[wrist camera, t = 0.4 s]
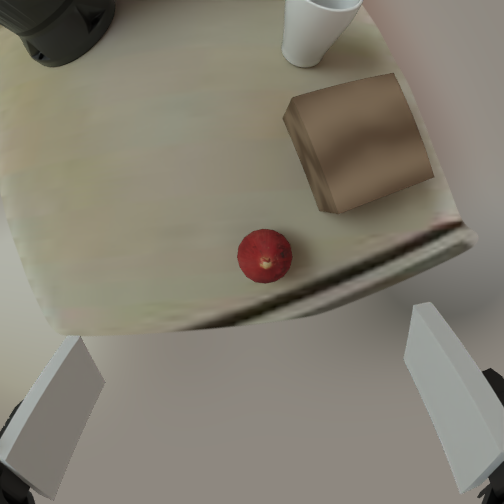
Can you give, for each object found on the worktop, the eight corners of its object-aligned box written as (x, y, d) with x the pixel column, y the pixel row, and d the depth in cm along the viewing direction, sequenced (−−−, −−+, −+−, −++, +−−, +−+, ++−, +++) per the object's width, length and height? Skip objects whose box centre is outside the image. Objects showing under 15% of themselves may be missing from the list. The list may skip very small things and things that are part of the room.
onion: (281, 221, 36) (291, 227, 29) (291, 267, 37) (303, 285, 30) (233, 232, 37) (230, 241, 29) (244, 279, 38) (244, 299, 30)
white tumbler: (284, 25, 32) (302, -47, 17) (333, 43, 33) (371, -20, 18) (267, 62, 33) (279, -6, 18) (318, 81, 34) (357, 23, 19)
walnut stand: (282, 118, 34) (292, 97, 27) (367, 93, 34) (393, 72, 26) (319, 210, 36) (338, 214, 28) (401, 179, 36) (434, 177, 28)
